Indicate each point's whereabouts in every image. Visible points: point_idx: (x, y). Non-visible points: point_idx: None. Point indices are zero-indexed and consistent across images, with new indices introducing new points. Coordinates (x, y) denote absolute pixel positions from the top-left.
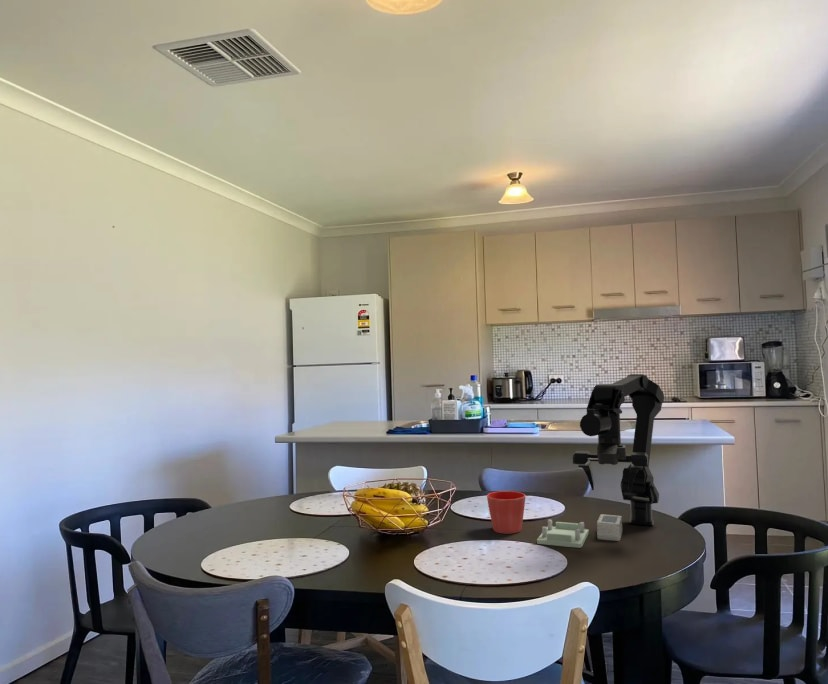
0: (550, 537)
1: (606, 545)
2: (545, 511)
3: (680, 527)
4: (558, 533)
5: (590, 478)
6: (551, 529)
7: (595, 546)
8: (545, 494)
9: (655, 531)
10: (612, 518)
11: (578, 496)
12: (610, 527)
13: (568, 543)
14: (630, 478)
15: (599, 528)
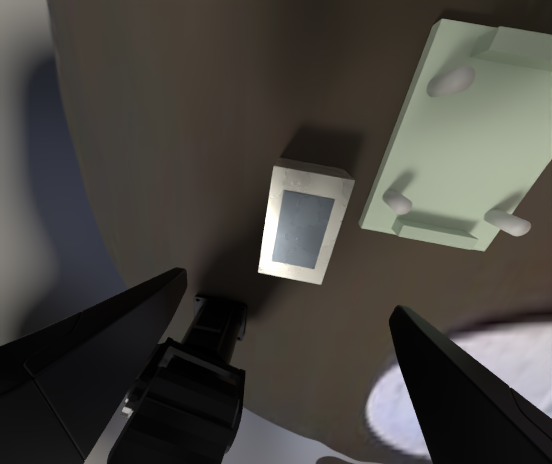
0: None
1: (327, 91)
2: None
3: None
4: (481, 168)
5: (486, 383)
6: (490, 210)
7: (368, 67)
8: (385, 456)
9: (188, 258)
10: (290, 237)
11: (326, 445)
12: (305, 169)
13: (491, 28)
14: (89, 328)
15: (342, 173)
